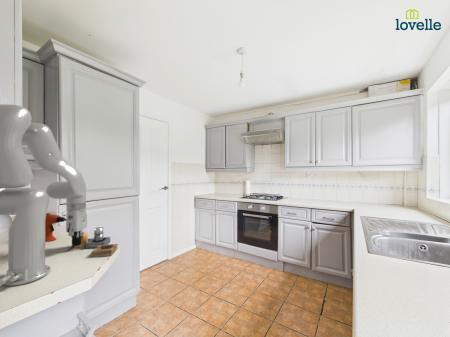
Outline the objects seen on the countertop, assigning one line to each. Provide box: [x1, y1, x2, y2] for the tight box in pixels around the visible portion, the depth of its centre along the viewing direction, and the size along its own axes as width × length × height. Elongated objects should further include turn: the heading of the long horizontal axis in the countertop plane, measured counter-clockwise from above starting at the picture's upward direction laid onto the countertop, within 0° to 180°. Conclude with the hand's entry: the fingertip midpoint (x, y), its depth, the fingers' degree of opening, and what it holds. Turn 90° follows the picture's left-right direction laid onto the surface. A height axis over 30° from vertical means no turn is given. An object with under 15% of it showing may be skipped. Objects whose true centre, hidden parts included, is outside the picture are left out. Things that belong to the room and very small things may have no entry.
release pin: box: [74, 231, 89, 249], centre depth 103 cm, size 4×4×7 cm
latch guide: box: [67, 237, 94, 252], centre depth 104 cm, size 13×7×1 cm, turn 10°
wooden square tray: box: [91, 243, 118, 258], centre depth 95 cm, size 8×8×2 cm
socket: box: [85, 236, 111, 250], centre depth 104 cm, size 8×8×3 cm
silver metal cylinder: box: [93, 226, 104, 242], centre depth 104 cm, size 4×4×8 cm
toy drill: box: [45, 212, 66, 243], centre depth 109 cm, size 5×19×15 cm, turn 78°
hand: (76, 244), depth 98 cm, fingers closed
